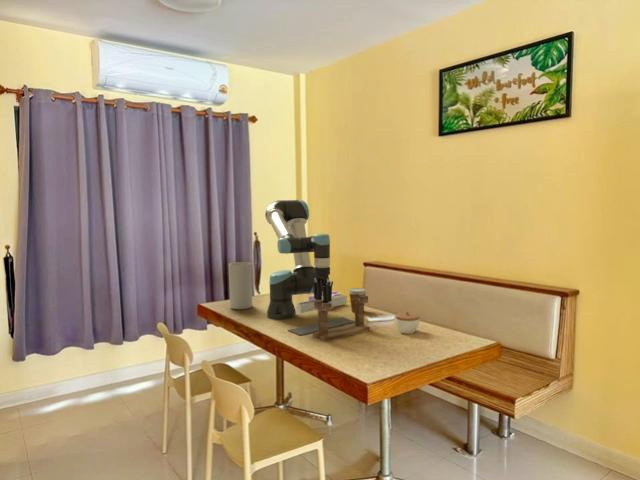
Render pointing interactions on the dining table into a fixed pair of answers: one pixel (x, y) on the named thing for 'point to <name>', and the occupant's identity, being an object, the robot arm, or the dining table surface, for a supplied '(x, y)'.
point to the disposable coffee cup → (357, 291)
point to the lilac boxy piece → (322, 296)
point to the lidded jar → (407, 322)
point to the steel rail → (334, 302)
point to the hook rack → (345, 329)
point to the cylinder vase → (240, 285)
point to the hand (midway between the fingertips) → (322, 314)
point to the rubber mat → (314, 327)
